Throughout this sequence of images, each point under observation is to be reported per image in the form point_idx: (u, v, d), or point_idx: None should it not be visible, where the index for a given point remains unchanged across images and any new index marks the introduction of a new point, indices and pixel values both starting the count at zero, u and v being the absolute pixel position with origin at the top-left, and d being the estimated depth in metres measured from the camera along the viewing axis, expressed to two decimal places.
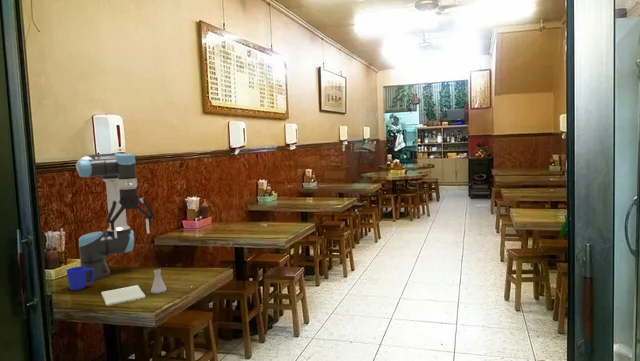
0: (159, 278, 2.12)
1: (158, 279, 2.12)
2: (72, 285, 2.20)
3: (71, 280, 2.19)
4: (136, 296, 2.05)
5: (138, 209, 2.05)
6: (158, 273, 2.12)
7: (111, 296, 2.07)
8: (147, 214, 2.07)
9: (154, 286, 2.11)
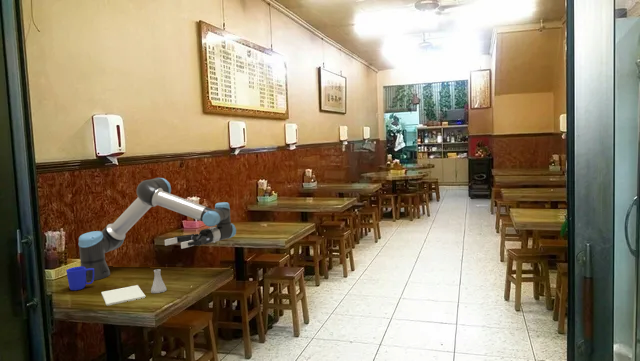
0: (159, 278, 2.12)
1: (157, 279, 2.12)
2: (72, 285, 2.20)
3: (71, 280, 2.19)
4: (136, 296, 2.05)
5: (189, 240, 2.30)
6: (158, 273, 2.12)
7: (111, 296, 2.07)
8: (180, 241, 2.30)
9: (154, 286, 2.11)
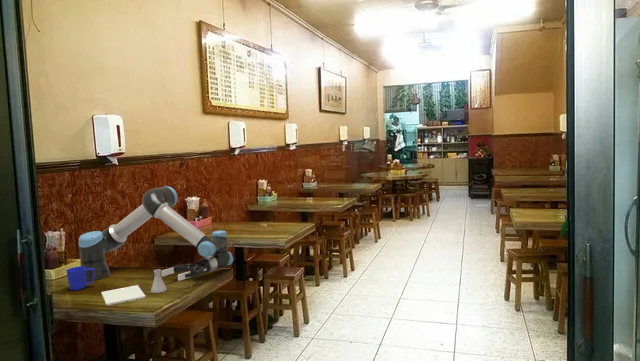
0: (159, 278, 2.12)
1: (158, 279, 2.12)
2: (72, 285, 2.20)
3: (71, 280, 2.19)
4: (136, 296, 2.05)
5: (186, 270, 2.29)
6: (158, 273, 2.12)
7: (111, 296, 2.07)
8: None
9: (154, 286, 2.11)
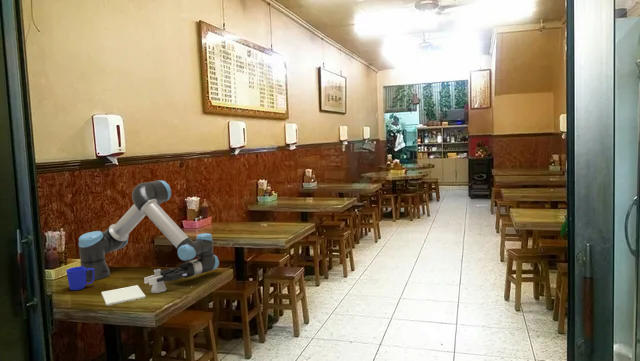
0: None
1: None
2: (72, 285, 2.20)
3: (71, 280, 2.19)
4: (136, 296, 2.05)
5: None
6: (158, 273, 2.12)
7: (111, 296, 2.07)
8: None
9: (154, 286, 2.11)
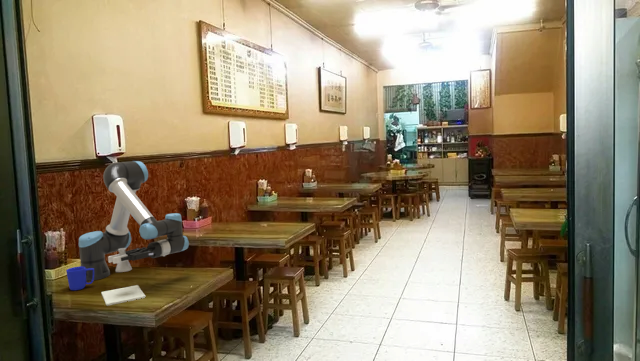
0: None
1: None
2: (72, 285, 2.20)
3: (71, 280, 2.19)
4: (136, 296, 2.05)
5: None
6: (123, 252, 2.06)
7: (111, 296, 2.07)
8: None
9: (118, 265, 2.06)
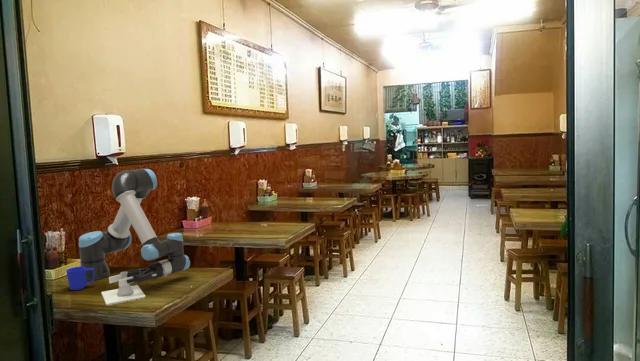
0: None
1: None
2: (72, 285, 2.20)
3: (71, 280, 2.19)
4: (136, 296, 2.05)
5: None
6: (124, 276, 2.07)
7: (111, 296, 2.07)
8: (127, 277, 2.15)
9: (120, 289, 2.06)
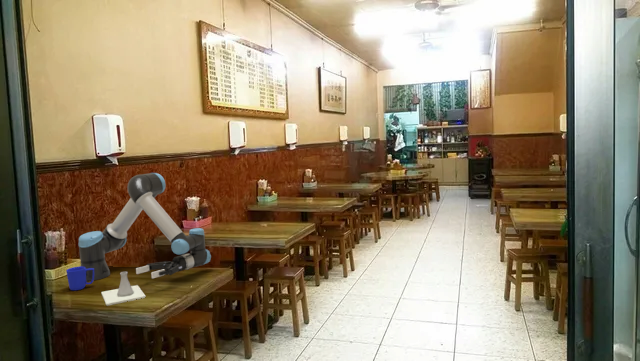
0: (125, 281, 2.07)
1: (124, 281, 2.07)
2: (72, 285, 2.20)
3: (71, 280, 2.19)
4: (136, 296, 2.05)
5: (161, 268, 2.27)
6: (124, 276, 2.07)
7: (111, 296, 2.07)
8: None
9: (120, 289, 2.06)
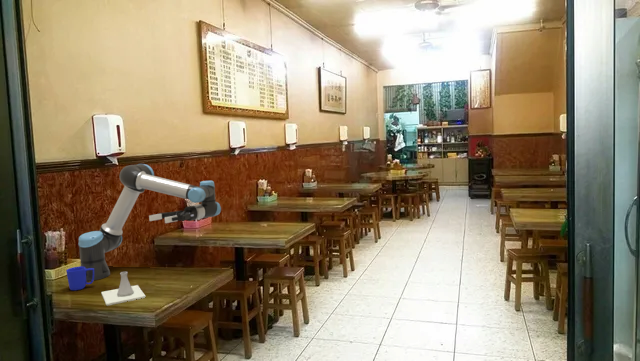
0: (125, 281, 2.07)
1: (124, 281, 2.07)
2: (72, 285, 2.20)
3: (71, 280, 2.19)
4: (136, 296, 2.05)
5: None
6: (124, 276, 2.07)
7: (111, 296, 2.07)
8: (165, 217, 2.34)
9: (120, 289, 2.06)
